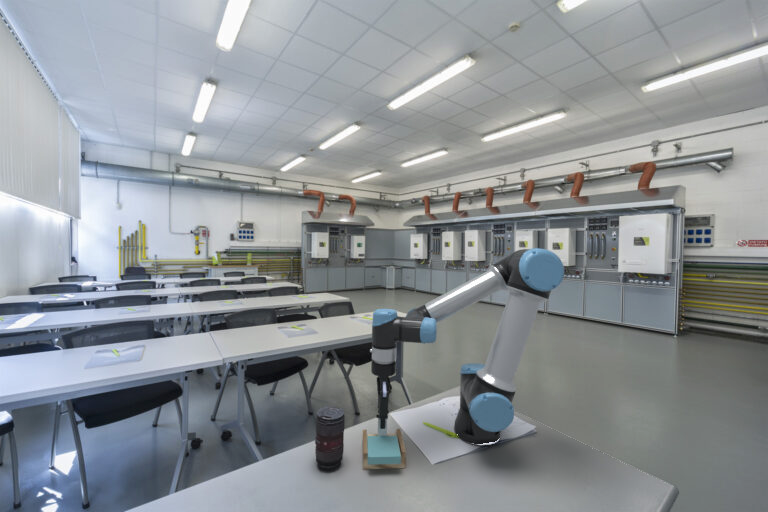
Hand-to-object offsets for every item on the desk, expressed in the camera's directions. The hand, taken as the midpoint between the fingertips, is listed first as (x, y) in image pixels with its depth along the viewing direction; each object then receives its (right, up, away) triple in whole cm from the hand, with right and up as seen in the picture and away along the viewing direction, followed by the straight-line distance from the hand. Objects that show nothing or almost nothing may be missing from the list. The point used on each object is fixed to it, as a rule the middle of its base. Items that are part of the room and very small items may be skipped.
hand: (382, 436), depth 97 cm
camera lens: (-15, -4, -7) cm, 17 cm away
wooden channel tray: (0, -4, -2) cm, 5 cm away
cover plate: (0, -1, -6) cm, 6 cm away
